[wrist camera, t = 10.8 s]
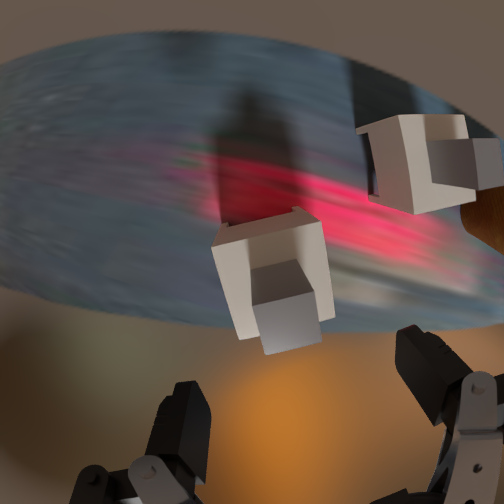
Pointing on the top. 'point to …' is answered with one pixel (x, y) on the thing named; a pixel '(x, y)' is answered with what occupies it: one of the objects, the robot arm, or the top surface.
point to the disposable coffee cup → (486, 217)
